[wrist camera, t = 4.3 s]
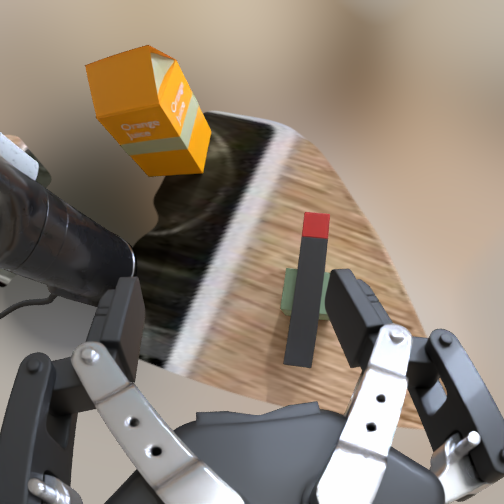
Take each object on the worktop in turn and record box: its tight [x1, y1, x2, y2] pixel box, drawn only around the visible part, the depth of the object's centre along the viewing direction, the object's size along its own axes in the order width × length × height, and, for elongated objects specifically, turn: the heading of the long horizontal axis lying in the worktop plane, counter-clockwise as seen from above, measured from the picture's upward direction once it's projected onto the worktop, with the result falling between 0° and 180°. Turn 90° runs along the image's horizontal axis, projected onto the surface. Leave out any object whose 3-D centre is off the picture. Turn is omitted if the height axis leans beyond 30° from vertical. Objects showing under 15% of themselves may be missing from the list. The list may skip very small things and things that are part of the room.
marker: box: [283, 212, 330, 368], centre depth 28 cm, size 14×2×2 cm, turn 170°
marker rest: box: [280, 268, 330, 320], centre depth 32 cm, size 4×5×6 cm
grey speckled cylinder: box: [0, 132, 39, 180], centre depth 46 cm, size 10×10×12 cm
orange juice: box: [85, 45, 211, 177], centre depth 35 cm, size 8×9×20 cm
